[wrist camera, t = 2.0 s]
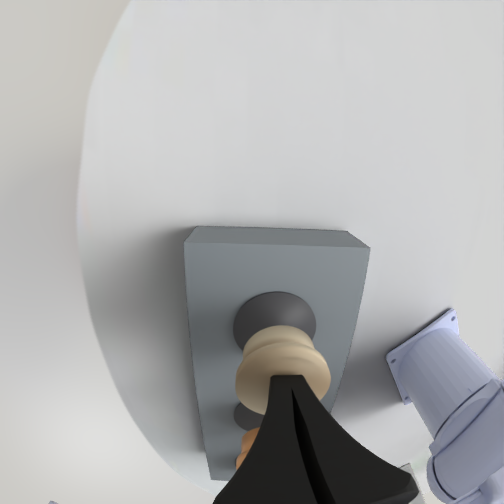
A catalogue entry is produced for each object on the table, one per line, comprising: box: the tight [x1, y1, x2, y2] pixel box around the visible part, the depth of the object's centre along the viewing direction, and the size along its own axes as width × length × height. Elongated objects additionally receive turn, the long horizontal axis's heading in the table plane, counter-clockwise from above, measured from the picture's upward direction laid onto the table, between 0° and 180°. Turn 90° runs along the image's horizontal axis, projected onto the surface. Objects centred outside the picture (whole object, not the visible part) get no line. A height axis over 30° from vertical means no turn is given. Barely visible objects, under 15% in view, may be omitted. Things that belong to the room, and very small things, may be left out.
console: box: [184, 226, 370, 481], centre depth 20 cm, size 26×10×4 cm, turn 178°
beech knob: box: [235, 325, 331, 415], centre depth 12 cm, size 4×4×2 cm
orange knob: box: [236, 427, 260, 469], centre depth 15 cm, size 4×4×2 cm
